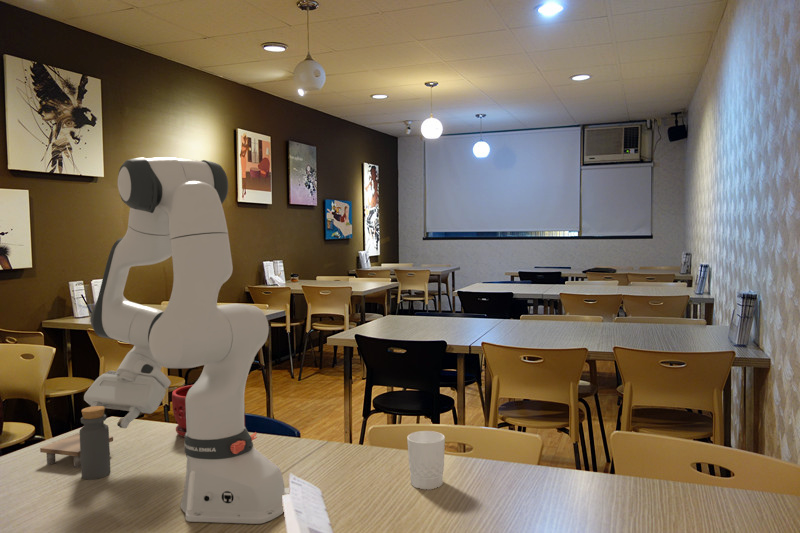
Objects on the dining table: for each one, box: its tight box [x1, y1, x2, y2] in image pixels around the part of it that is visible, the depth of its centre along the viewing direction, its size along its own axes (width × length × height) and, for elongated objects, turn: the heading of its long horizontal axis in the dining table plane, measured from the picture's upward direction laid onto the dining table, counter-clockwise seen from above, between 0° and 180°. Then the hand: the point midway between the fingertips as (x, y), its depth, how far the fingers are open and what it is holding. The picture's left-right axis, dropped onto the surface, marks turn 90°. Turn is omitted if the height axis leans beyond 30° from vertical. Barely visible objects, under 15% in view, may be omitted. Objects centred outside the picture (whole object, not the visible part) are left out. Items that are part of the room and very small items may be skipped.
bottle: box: [79, 406, 111, 480], centre depth 137 cm, size 6×6×15 cm
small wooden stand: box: [39, 432, 114, 469], centre depth 148 cm, size 11×11×4 cm
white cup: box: [406, 430, 446, 490], centre depth 129 cm, size 8×8×10 cm
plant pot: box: [171, 384, 194, 438], centre depth 166 cm, size 13×13×12 cm
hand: (105, 424), depth 140 cm, fingers open, 8 cm apart
